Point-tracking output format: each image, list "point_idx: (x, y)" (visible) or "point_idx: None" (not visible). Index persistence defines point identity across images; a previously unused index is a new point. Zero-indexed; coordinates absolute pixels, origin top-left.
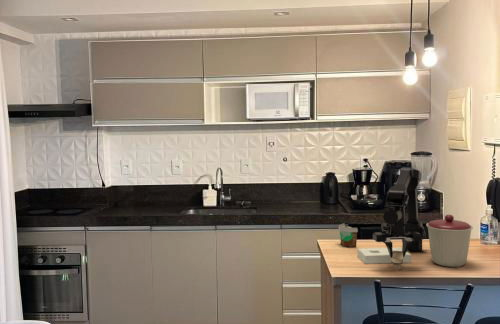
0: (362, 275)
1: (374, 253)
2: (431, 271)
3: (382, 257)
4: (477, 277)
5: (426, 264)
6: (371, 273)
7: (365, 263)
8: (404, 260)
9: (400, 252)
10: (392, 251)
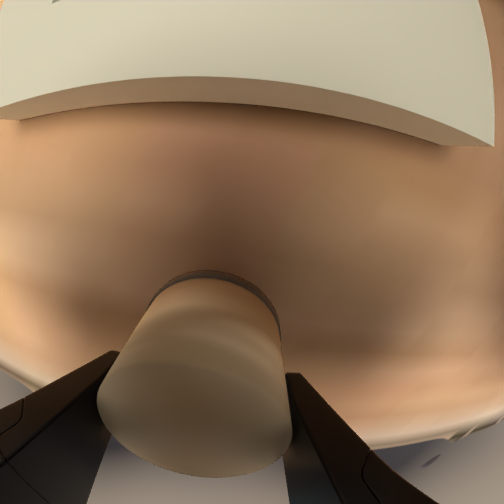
0: (2, 351)
1: (66, 11)
2: (424, 377)
3: (120, 88)
4: (486, 422)
5: (498, 229)
6: (30, 342)
7: (19, 119)
8: (399, 125)
9: (237, 456)
10: (118, 392)
